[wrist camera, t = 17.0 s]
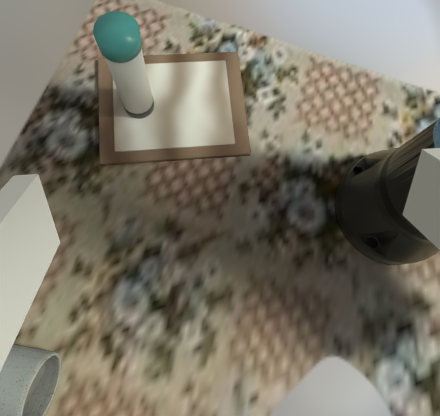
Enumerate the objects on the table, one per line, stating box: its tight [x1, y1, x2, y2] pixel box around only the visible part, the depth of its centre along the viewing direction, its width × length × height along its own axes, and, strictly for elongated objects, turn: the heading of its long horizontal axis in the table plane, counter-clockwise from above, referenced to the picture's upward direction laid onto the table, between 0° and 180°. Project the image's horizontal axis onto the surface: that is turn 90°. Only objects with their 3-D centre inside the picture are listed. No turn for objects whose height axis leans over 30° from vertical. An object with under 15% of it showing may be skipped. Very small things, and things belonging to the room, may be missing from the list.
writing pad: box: [98, 52, 251, 165], centre depth 49 cm, size 20×16×1 cm
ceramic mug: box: [0, 344, 61, 416], centre depth 36 cm, size 11×8×8 cm
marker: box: [93, 11, 154, 119], centre depth 41 cm, size 4×4×14 cm
